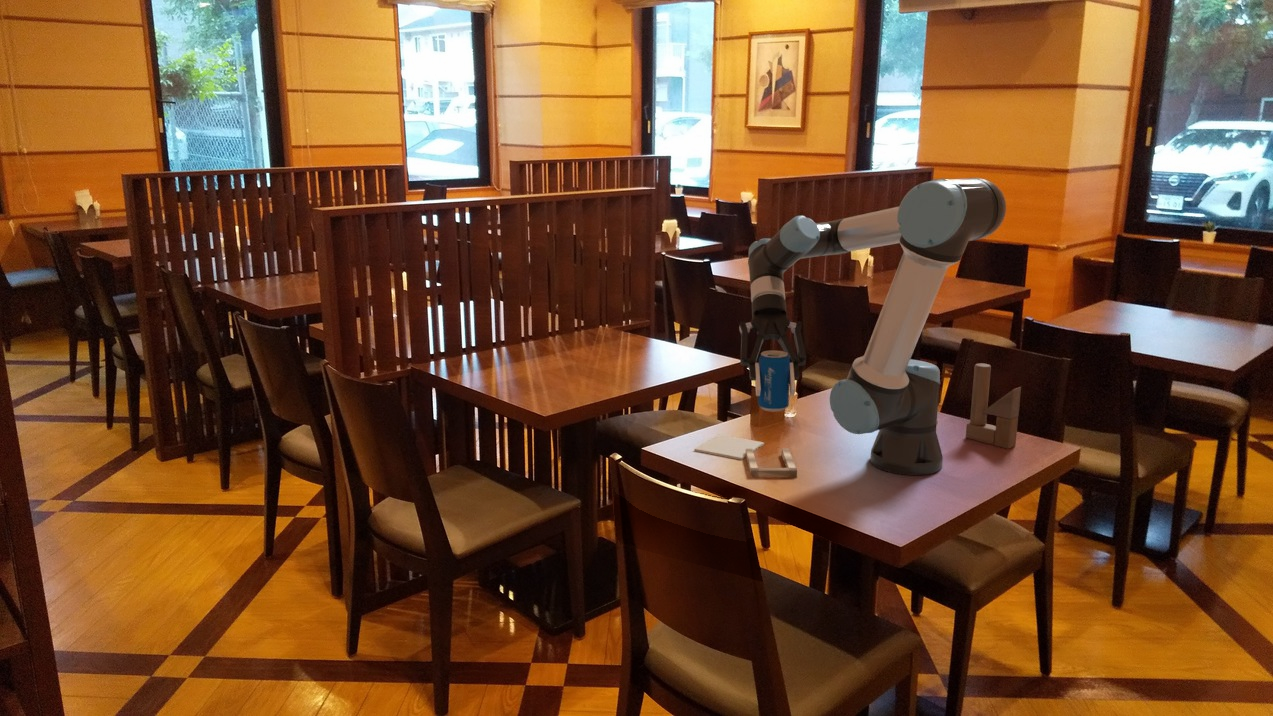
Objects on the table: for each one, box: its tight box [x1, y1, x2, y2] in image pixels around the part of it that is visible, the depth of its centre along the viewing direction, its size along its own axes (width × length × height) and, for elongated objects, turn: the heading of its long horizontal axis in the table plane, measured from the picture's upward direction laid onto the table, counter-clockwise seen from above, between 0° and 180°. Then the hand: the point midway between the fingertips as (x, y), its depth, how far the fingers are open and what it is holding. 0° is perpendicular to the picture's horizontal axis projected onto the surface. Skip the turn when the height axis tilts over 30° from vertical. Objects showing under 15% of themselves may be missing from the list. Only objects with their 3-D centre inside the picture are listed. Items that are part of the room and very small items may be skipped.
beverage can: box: [757, 349, 790, 413], centre depth 189 cm, size 6×6×12 cm
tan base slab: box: [745, 448, 798, 478], centre depth 196 cm, size 14×10×2 cm
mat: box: [693, 433, 765, 461], centre depth 208 cm, size 12×12×1 cm
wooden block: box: [965, 362, 1022, 450], centre depth 207 cm, size 4×11×18 cm, turn 40°
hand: (775, 392), depth 186 cm, fingers closed on beverage can, 6 cm apart
